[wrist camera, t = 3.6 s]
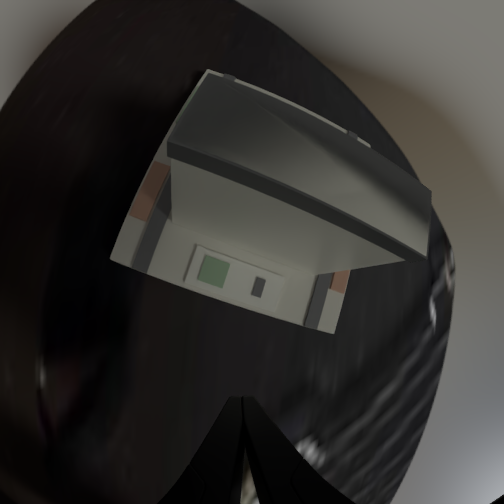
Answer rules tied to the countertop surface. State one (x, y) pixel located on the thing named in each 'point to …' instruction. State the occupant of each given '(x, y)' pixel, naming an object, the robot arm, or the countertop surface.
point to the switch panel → (221, 253)
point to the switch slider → (290, 185)
